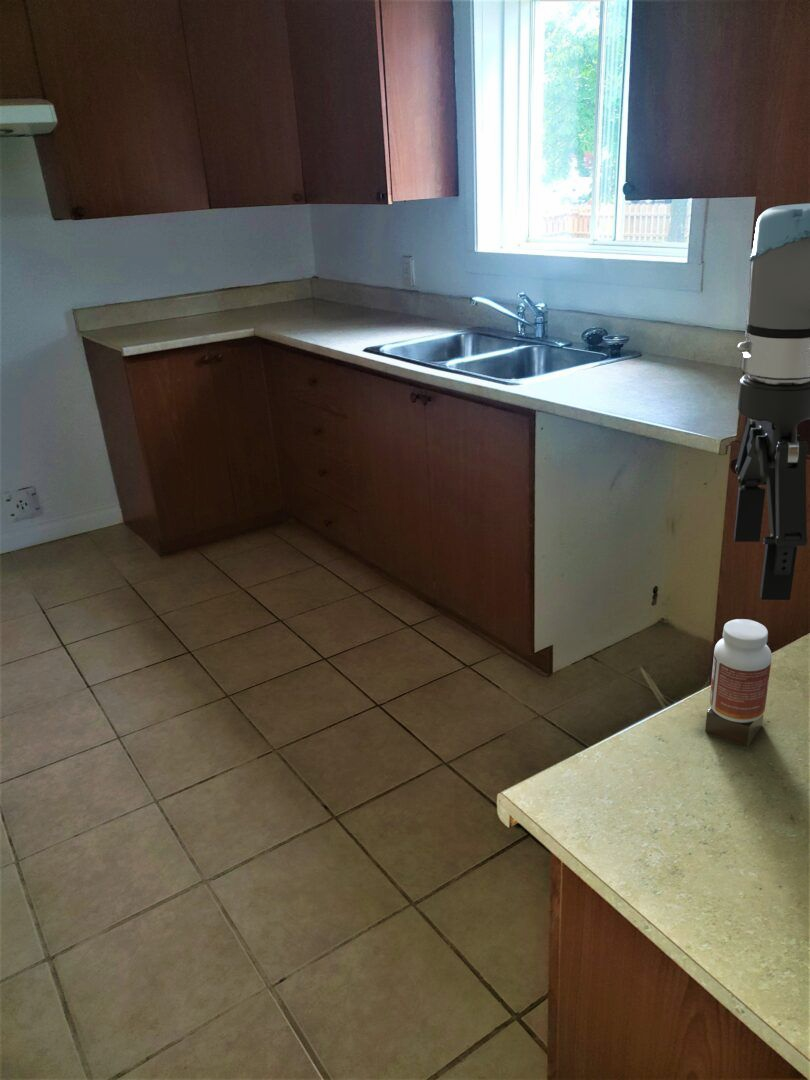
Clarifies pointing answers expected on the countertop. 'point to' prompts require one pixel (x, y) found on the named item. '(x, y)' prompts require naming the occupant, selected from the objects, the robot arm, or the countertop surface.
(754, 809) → the countertop surface
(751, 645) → the pill bottle
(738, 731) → the walnut block
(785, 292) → the robot arm
